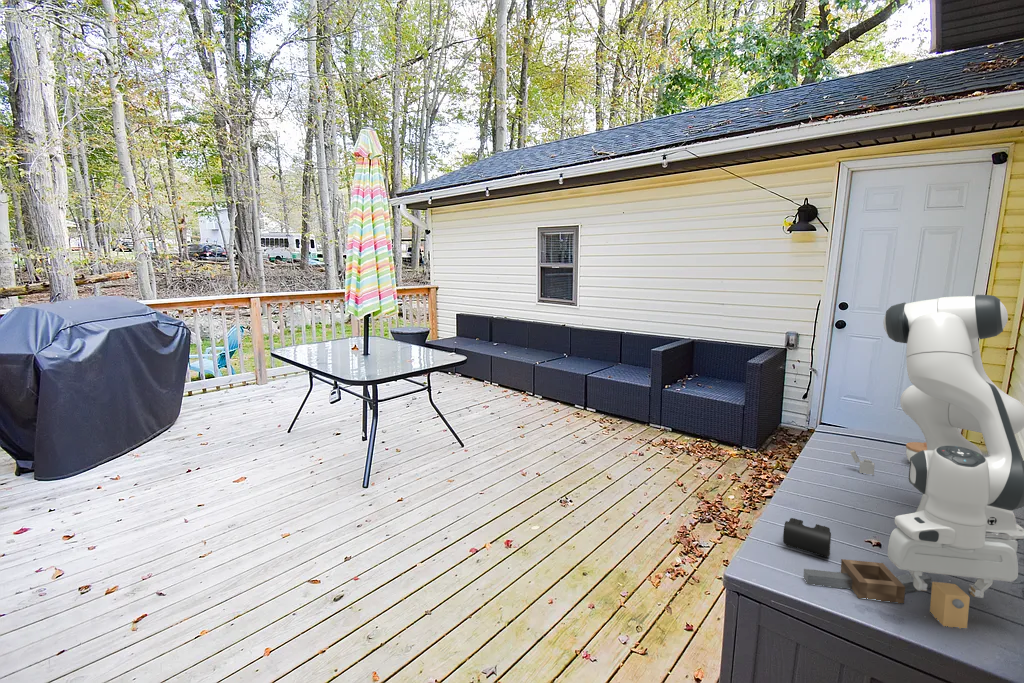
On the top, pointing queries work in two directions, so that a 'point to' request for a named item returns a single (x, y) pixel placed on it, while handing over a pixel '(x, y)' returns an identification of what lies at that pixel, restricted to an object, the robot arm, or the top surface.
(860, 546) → the top surface
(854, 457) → the lighter
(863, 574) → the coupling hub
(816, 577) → the steel shafts
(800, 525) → the end cap
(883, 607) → the top surface
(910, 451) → the lidded jar
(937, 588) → the block
